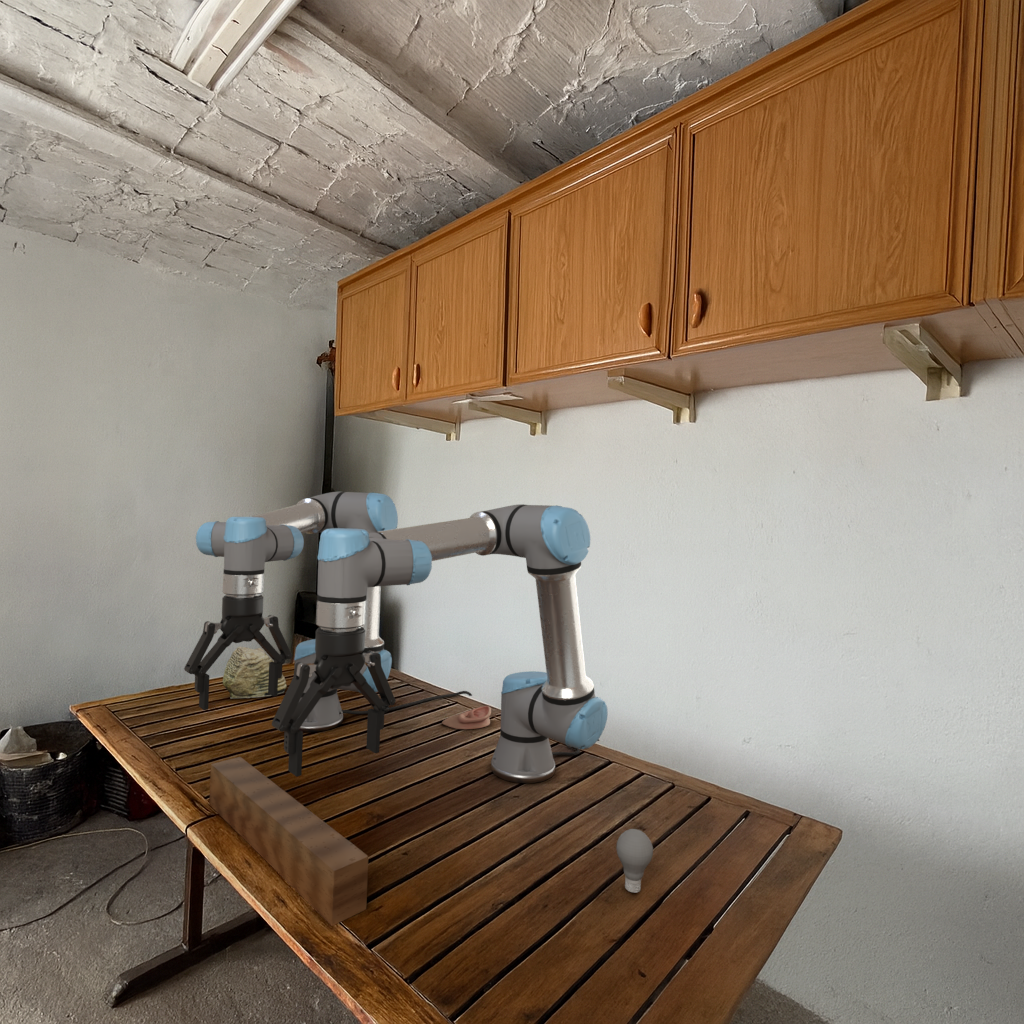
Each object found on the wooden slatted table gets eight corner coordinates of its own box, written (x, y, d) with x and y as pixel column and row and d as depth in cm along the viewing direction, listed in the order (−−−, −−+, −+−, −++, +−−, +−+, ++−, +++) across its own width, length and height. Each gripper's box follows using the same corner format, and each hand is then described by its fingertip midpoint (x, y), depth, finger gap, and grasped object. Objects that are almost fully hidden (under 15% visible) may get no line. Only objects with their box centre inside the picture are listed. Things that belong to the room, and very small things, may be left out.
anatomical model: (438, 712, 177) (451, 700, 188) (438, 726, 177) (450, 713, 188) (484, 718, 174) (494, 705, 185) (484, 732, 174) (493, 718, 185)
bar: (209, 804, 128) (210, 764, 128) (238, 796, 132) (240, 756, 132) (331, 926, 94) (334, 871, 94) (366, 909, 98) (368, 856, 98)
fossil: (218, 695, 195) (220, 647, 195) (278, 685, 208) (279, 640, 207) (228, 703, 189) (230, 653, 188) (289, 692, 201) (290, 645, 201)
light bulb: (610, 879, 108) (613, 822, 108) (644, 879, 109) (647, 822, 109) (619, 902, 102) (622, 840, 102) (655, 901, 103) (658, 840, 103)
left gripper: (182, 602, 114) (178, 719, 114) (310, 592, 132) (307, 693, 132) (168, 596, 119) (164, 708, 120) (294, 587, 137) (290, 685, 137)
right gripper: (274, 641, 88) (268, 793, 88) (419, 622, 105) (414, 748, 106) (251, 632, 93) (246, 775, 93) (393, 615, 111) (388, 735, 111)
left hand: (239, 701), depth 126 cm, fingers open, 13 cm apart
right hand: (335, 761), depth 100 cm, fingers open, 13 cm apart
